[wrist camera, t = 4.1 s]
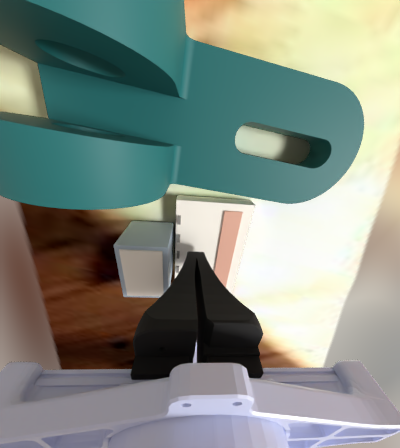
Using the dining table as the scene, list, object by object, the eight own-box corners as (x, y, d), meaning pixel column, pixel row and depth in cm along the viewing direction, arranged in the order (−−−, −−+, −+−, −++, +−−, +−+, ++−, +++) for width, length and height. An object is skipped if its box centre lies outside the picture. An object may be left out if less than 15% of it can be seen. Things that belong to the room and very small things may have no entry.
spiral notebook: (229, 285, 18) (232, 295, 17) (175, 283, 17) (174, 294, 16) (250, 200, 13) (256, 206, 12) (177, 194, 13) (176, 200, 12)
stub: (172, 266, 16) (167, 299, 13) (137, 265, 16) (123, 298, 13) (173, 222, 14) (167, 248, 11) (132, 220, 14) (112, 246, 10)
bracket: (80, 158, 12) (-89, 186, 5) (62, 24, 9) (-514, -482, 2) (305, 200, 14) (419, 262, 7) (353, 105, 11) (649, 43, 4)
